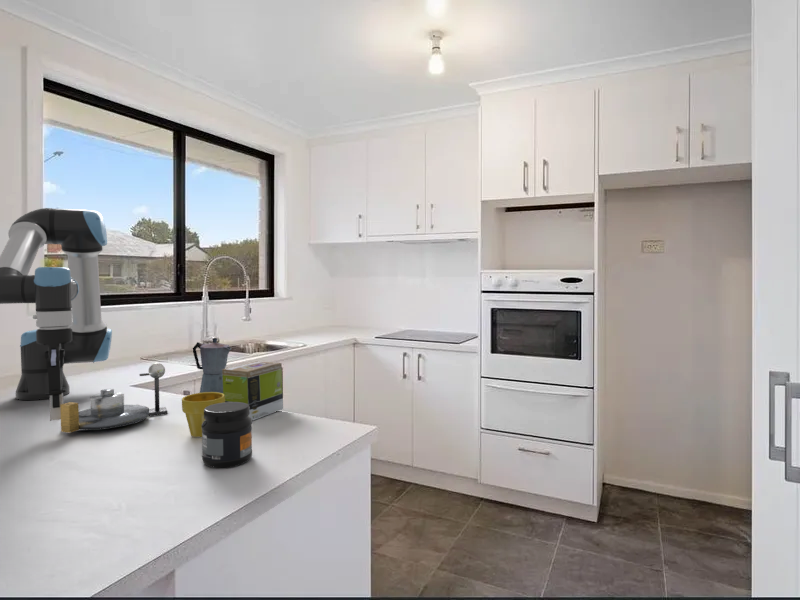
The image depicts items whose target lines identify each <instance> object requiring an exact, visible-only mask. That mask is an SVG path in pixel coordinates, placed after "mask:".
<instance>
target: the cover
mask: <svg viewBox="0 0 800 600" xmlns="http://www.w3.org/2000/svg"><path fill="white" fill-rule="evenodd" d="M89 399H90V402H89V404H90V409H91V417H95V418H104V417H112V416H117V415H120V414H123V413H124V405H125V393H123V392H115V389H114V388H105V389H101V390H100V393H98V394H94V395H91V396H90V398H89Z"/></svg>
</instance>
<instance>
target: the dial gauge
mask: <svg viewBox="0 0 800 600" xmlns="http://www.w3.org/2000/svg"><path fill="white" fill-rule="evenodd" d="M165 373H166V368H165V366H164V365H163V364H162V363H160V362H155V363H153V364H151V365H150V366H149V368H148V372H147V373H145V372H144V373H139V374H138V375H139V377H145V376H150V377H151V378H153V379H154V380H153V381H154V408H149V417H154V415H156V416H161V414H164V415H168V414H169V413H168V409H167V407H166V406H164V407H160V378H162V377H163V376H164V374H165Z"/></svg>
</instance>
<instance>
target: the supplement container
mask: <svg viewBox="0 0 800 600" xmlns="http://www.w3.org/2000/svg"><path fill="white" fill-rule="evenodd" d="M249 414H250V406H249V405H248V404H247V403H243V402H223V403H217V404H213V405H209V406H207V407H206V408H205V409H204V419H205V420H204V422H203V423H202V425H201V428H202V437H201V439H202V440H201V441H202V442H201V443H202V445H201V446H202V447H201V448H202V453H201V454H202V455H201V459H202V462H203V464H204V465H206V466H207V467H209V468H215V469H225V468H226V469H228V468H234V467H238V466H240V465H243V464H245V463H247V462H248V461H249V460H250V459H251V458H252V456H253V436H252V435H253V432H252V431H253V430H252V424H253V421H252V419H251V418H250V417H249V416H248V415H249Z"/></svg>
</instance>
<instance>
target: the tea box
mask: <svg viewBox="0 0 800 600" xmlns="http://www.w3.org/2000/svg"><path fill="white" fill-rule="evenodd" d="M222 372H223V373H222V376H223V394H224V395H225V402H243V403H247V404H248V405H249V406H250V414H249V415H248V416H249V417H250V418H251V419H252V420H253V421H256V420H258V419H260V418H262V417H266V416H268V415H272V414H274V413H276V412H275V411H277V412H279V411H282V410H284V398H283V397H284V396H283V393H284V392H283V390H284V389H283V388H284V387H283V367H282V362H272V361H259V360H257V361H253V362H252V361H251V362H247V363H245V364H244V363H242V364H239V365H235V366H231V367H225V369H222Z"/></svg>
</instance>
